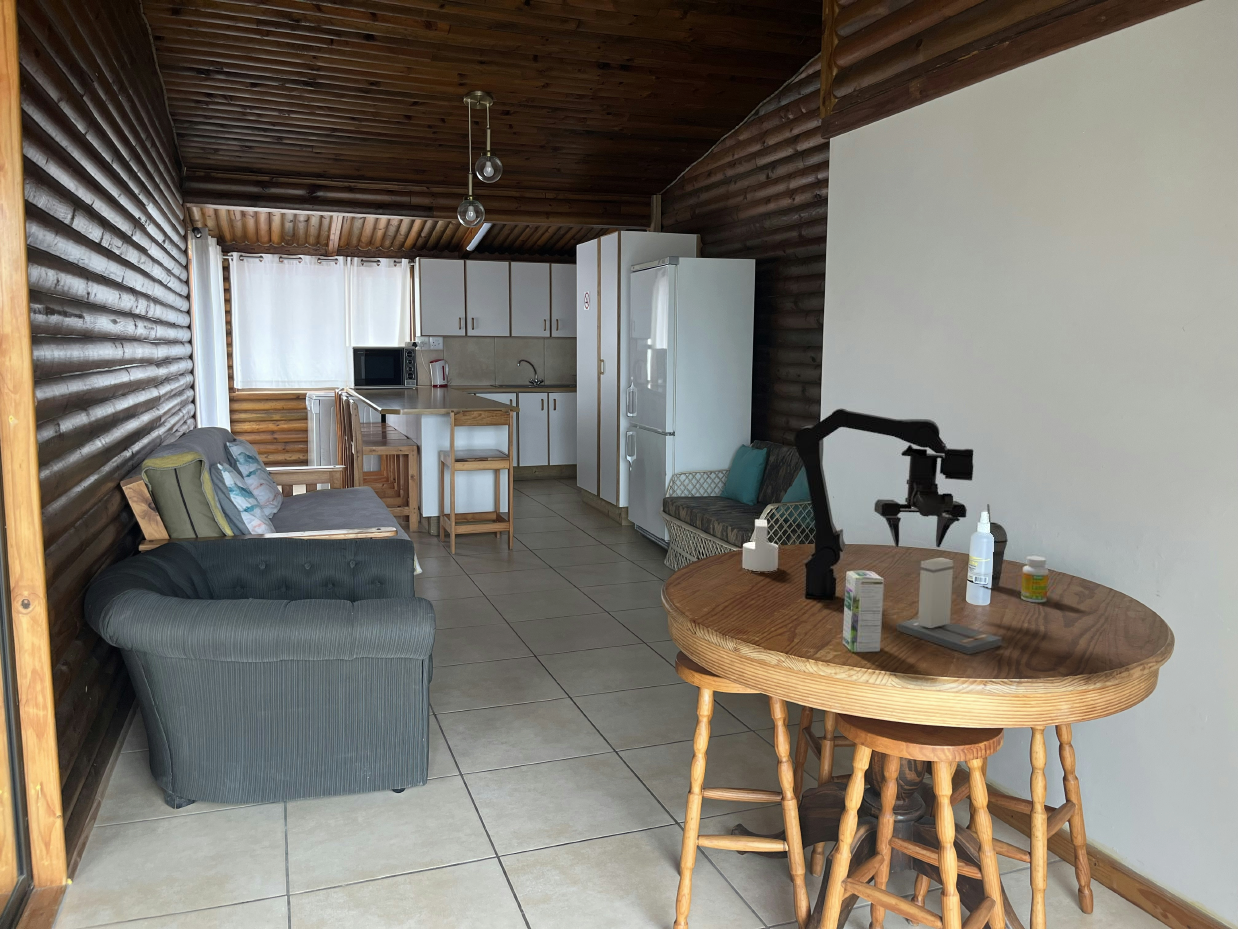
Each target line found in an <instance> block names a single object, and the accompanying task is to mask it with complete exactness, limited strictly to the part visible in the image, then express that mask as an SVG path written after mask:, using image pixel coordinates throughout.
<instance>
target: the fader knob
mask: <svg viewBox="0 0 1238 929" xmlns="http://www.w3.org/2000/svg"><path fill="white" fill-rule="evenodd" d="M919 568H920V575H919V576H920V577H919V578H920V580H919V596H918V598H919V599H918V616H917V617H918V624H919V625H922V626H925V627H928V628H933V627H937V626H941V625H945V624H949V623H950V622H951V610H952V609H951V608H952V607H951V606H952V590H953V571H954V560H951V559H948V558H943V557H937V558H936V557H935V558H931V559H927V560H926V559H925V560H921V561H920V567H919Z"/></svg>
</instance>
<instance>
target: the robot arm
mask: <svg viewBox="0 0 1238 929" xmlns="http://www.w3.org/2000/svg"><path fill="white" fill-rule="evenodd" d="M840 428H846V429H851V430H857V431H862V432H867V433H874V434H878V435H879V434H880V435H884V436H890V437H894V438H896V439H899V440H901V441H903V442H906V443H908V446H907V448H905V449H903V450H902V451H901V456H902V457H909V467H908V468H909V469H908V478H907V479H906V485H907V493H906V494H907V496H906V497H905V500H904V502H905V503H899V502H898V501H896V500H894V499H883V498H882V499H879V498H878V499H877V500H876V501H875V503H874V508H873V509H874V510H873V511H874V512H875V513H876V514H878V515H879V516H881V517H882V518H884V519H885V521H886V523H887V525H888V527H889V530H890V534H891V537H892V541H893V543H894V546H895V547H896V548H897V547H899V545H900V523H901V519H902V518H901V517H900V516H899V514H901V513H919V515H920V516H921V517H937V518H936V519H937V520H936V529H935V531H936V533H935V546H936V548H941V545H942V543H943V541H944V540H945V537H946V534H947V532H948V531H949V529H950V527H951V526H952V525H953V524H954V523H955V522H959V521H960V520H961V519H963V518H967V513H968V512H967V511H968V509H967V506H966V505H965V504H964V503H961V502H960V501H957V500H954V495H953V494H952V493H949V492H947V493H946V492H945V493H939V487H938V483H937V473H938V472H937V470H938V459H940V464H939V465H940V467H939V468H940V469H939V475H942V476H944V479H945V480H957V481H968V482H969V481H970V482H972V481H973V477H974V476H973V475H974V449H973V448H950V447H949V448H948V446H947V444H946V443H945V442H944V441H943V439H942V438H941V437H940V427H939V426H938V424H937V423H936V422H935V421H934V420H932V419H928V418H927V419H926V418H925V419H924V418H922V419H921V418H920V419H918V418H917V419H916V418H910V419H909V418H908V419H907V418H905V419H900V418H899V419H896V418H891V417H887V416H885V417H884V416H881V415H875V414H871V413H869V414H868V413H863V412H858V411H853V410H847V409H845V408H838V409H835V410H834V411H833V412H832V413H831V414H829V415H827V416H826V417H825V418H824V419H822V420H821V421H819V422H817V423H816V424H815V425H806V426H804V427H801V428H800V429H799V430H797V431H796V433H795V434H794V437H793V444H794V447H795V449H796V452H797V455H798V458H799V459H800V461H801V463H802V465H803V468H804V471H805V476H806V480H807V481H806V482H807V487H808V492H809V497H810V504H811V509H812V514H813V520H814V525H815V534H814V552H813V553H812V554H811V555H810V556H809V557H808V559H807V560H806V562H805V563H804V567H805V588H804V598H806V599H820V600H834V598H835V596H836V594H837V575H836V574H835V569H834V568H832V567H833V566H836V565H837V564H838V563H839V562H840V560H841V558H842V556H843V554H844V552H845V551H844V550H845V549H846V546H847V544H846V543H845V540H844V529H843V528H842V529H837V527H836V525H835V524H834V519H833V514H832V510H831V503H830V498H829V493H828V491H829V490H828V486H827V481H826V480H827V479H826V475H825V471H824V465H823V464H824V463H823V462H824V460H823V459H824V439H825V438H827V437H828V436H830V435H831V434H832V433H834V432H836V431H837V430H838V429H840ZM911 444H912V445H911ZM913 445H914V446H917V447H920V448H914V447H913ZM927 448H928V449H929V450H931V451H932V452H934V453H928V449H927Z"/></svg>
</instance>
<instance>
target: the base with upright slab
mask: <svg viewBox="0 0 1238 929" xmlns="http://www.w3.org/2000/svg"><path fill="white" fill-rule="evenodd" d="M778 566H779V545H778V544H776V543H772V542H768V521H767V519H757V518H756V519H754V541H750V542H748V541H747V542H745V543H743V545H742V569H743V568H745V569H749V570H753V571H773V570H776V569H777V568H778ZM777 570H778V569H777ZM777 570H776V571H777ZM773 572H774V571H773Z"/></svg>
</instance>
